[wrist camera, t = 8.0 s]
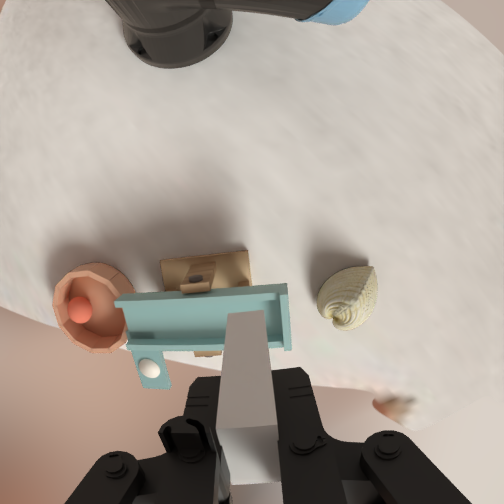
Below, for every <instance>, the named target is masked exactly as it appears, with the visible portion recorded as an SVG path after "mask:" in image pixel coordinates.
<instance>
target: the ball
mask: <svg viewBox="0 0 504 504" xmlns="http://www.w3.org/2000/svg"><path fill="white" fill-rule="evenodd" d="M67 311H68V315H69V317H70V318H71V319H72V320H73V321H74V322H76V323H85V322H87V321H88V320H89V319H90V318H91V316H92V311H93V310H92V305H91V303H90V302H89V301H88V300H87V299H86V298H84V297H75V298H73V299H72V300H71V301H70V302H69V304H68V307H67Z"/></svg>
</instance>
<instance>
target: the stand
mask: <svg viewBox="0 0 504 504" xmlns="http://www.w3.org/2000/svg"><path fill="white" fill-rule="evenodd" d="M160 266H161V271H162V276H163V281H164V287H165V292H167V291H181V292H182V294H185V293H195V292H205V291H210V290H211V289H216V288H231V287H245V286H252V281H251V273H250V264H249V256H248V250H245V251H236V252H227V253H218V254H209V255H201V256H192V257H183V258H174V259H166V260H161V261H160ZM221 354H222V350H219V351H194V355H195V357H203V356H205V357H212V356H216V355H221Z"/></svg>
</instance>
